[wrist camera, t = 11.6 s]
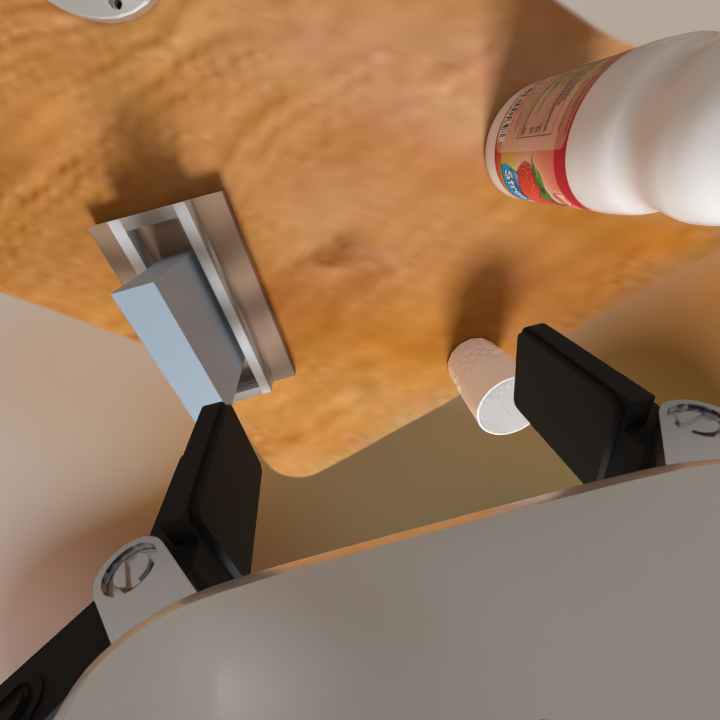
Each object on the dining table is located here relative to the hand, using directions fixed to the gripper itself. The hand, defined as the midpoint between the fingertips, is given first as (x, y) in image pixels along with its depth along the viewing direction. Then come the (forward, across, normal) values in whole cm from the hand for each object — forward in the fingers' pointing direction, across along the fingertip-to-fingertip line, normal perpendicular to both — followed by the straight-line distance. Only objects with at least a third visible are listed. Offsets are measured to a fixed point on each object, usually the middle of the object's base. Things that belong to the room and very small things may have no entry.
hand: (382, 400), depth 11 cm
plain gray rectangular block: (+26, +13, +4) cm, 29 cm away
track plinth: (+27, +13, +4) cm, 31 cm away
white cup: (+27, -15, +19) cm, 37 cm away
